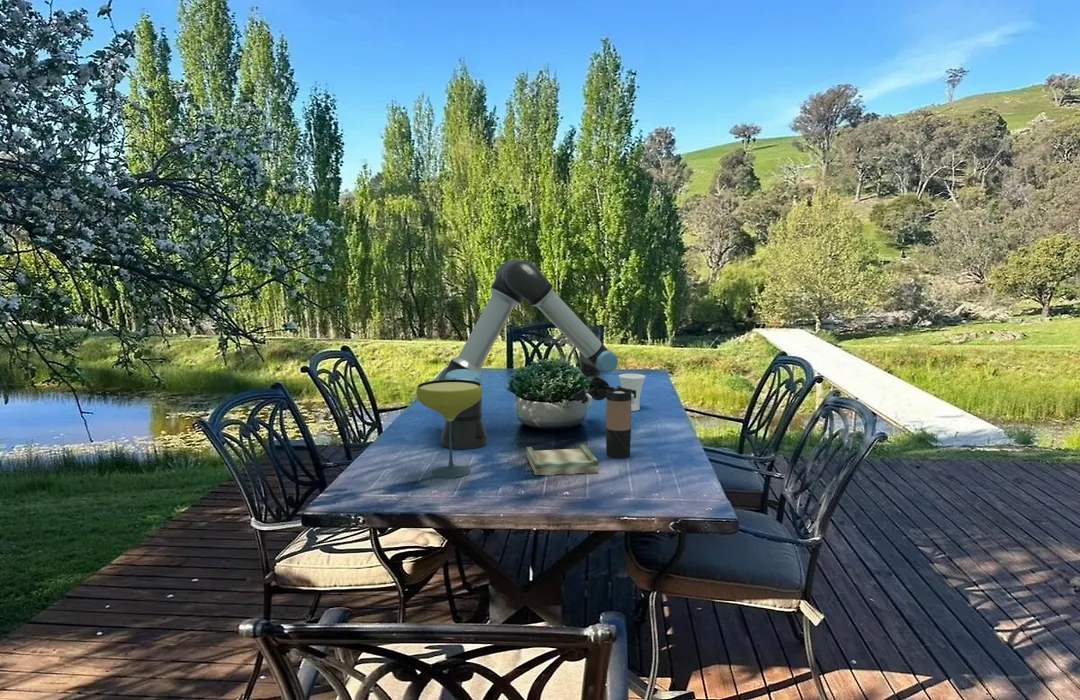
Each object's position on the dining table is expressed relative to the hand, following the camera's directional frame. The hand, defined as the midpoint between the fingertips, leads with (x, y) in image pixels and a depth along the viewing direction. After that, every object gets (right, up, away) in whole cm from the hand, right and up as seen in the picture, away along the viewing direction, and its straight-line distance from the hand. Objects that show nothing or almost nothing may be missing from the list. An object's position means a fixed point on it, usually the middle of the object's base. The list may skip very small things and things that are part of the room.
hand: (612, 400), depth 218 cm
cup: (+14, -8, +55) cm, 58 cm away
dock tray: (-17, -17, -17) cm, 30 cm away
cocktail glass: (-48, -19, -24) cm, 57 cm away
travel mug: (+1, -16, -8) cm, 18 cm away
